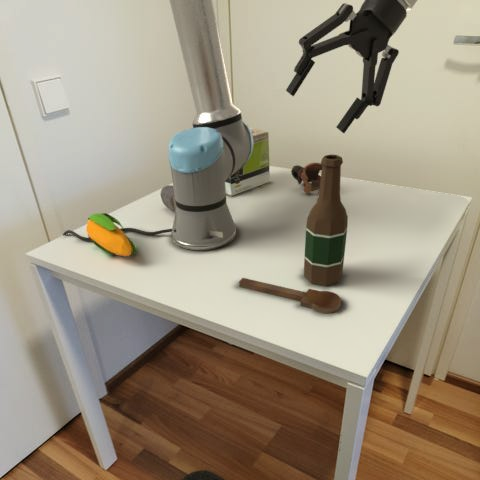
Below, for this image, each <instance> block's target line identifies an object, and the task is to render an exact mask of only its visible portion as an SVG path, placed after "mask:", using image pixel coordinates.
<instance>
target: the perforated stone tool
mask: <svg viewBox="0 0 480 480" xmlns="http://www.w3.org/2000/svg"><path fill="white" fill-rule="evenodd" d="M160 198H161V201H162V203H163V205H164V206H165V207H166V208H167V209H168V210H170V211H172V212H173V213H174V214H175V212H176V201H175V194H174V187H173V184H172V185H171V184H170V185H164V186H163V187H162V188H161V190H160Z"/></svg>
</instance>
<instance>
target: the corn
mask: <svg viewBox="0 0 480 480" xmlns="http://www.w3.org/2000/svg"><path fill="white" fill-rule="evenodd" d="M87 220H88V221H87V223H86V228H85V231H86V233H87V236H88V237H87V238H89V239H90V240H91V242H92V243H93V245H95V247H97V248H98V249H100V250H101V251H103V252H104V253H106V254H107V255H109V256H114V255H117V256H122V257H123V256H124V257H130V255H132V254H137V252H138V249H137V246H136V245H135V244H134V242H133V241H132V240H131V238H129V237H128V235H126V234H125V233H124V231H122V230H121V228H123V229H124V228H125V227H124V226H123V225H122V224H121V222H120V221H119V220H118V219H117V218H116V217H114V216H113V215H110V214H108V213H106V212H105V213H103V212H101V213H93V214H90V215H89V216H88V217H87ZM118 226H120V227H121V228H120V227H118Z"/></svg>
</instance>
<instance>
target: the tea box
mask: <svg viewBox="0 0 480 480" xmlns="http://www.w3.org/2000/svg"><path fill="white" fill-rule="evenodd" d="M249 128H250V130H251V133H252V136H253V151H252V154H251V156H250V158H249V159H248V161H247V162H246V163H245V165H244V166H243V167H242V168H241V169H240V170H238V171H236V172H235V173H234V174H233V175H231V176H230V177H229V178H228V179H226V180H225V188H226V195H227V196H231V197H232V196H235V195H237V194H238V195H239V194H240V193H241V194H242V193H243V192H246V191H249V190H251V189H252V190H253V189H254V188H257V187H260V186H262V185H265V184H268V183H270V182H271V178H270V177H271V174H270V173H271V172H270V143H269V142H270V141H269V132H268V131H265V130H262V129H261V130H260V129H257V128H256V129H255V128H252V127H249Z"/></svg>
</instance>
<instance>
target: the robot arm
mask: <svg viewBox="0 0 480 480" xmlns="http://www.w3.org/2000/svg"><path fill="white" fill-rule="evenodd" d="M417 1H418V0H364V1H363V2H362V4H361V6H360V8H359V10H358V11H357V12H355V10H354V6H353V5H352V4H348V3H342V4H341V5H340V7H338V9H337V10H336V12H335V13H334V14H333V15H331V16H330V17H329V18H327V19H326V20H324V21H323V22H322V23H320V24H319V25H317V26H316V27H314V28H313V29H312V30H310V31H308V32H307V33H305V34H304V35H303V36H301V37H300V38H299V40H298V44H299V46H300V47H301V49H302V55H301V57H300V58H299V60H298V61H297V63H296V65H295V66H294V69H293V72H295V75H294V76H293V78H292V80H291V81H290V83H289V84H288V86H287V88H286V89H285V91H286V92H287V93H288V94H289V95H290V96H292V97H295V95H296V93H297V92H298V91H299V89H300V87H301V86H302V84H303V83H304V81H305V79H306V77H307V76H308V75H309V74H310V72H311V70H312V68H313V67H314V65H315V63H316V62H315V60H314V58H316V57H318V56H321V55H323V54H326V53H328V52H331V51H334V50H336V49H339V48H341V47H344V46H348V47H349V48H350V49H351V50H353V51H355V53H356V54H357V55H358V56H359V57H361V58H362V63H363V67H362V68H363V69H362V82H361V83H362V84H361V97H356V98H355V100H354V101H353V103H352V104H351V105H350V106H349V108H348V109H347V110H346V112H345V114H344V115H343V116H342V118H341V119H340V121H339V122H338V124H337V125H336V126H335V128H336V129H338V130H339V131H340V132H341V133H342V134H345V133H346V132H347V130H348V129H349V127H350V126H351V125H352V124H353V122H354V120H358V119H360V118H361V117H362V115H363V114H364V112H365V111H366V110H367V108H368V107H371V106H375V107H379V106H380V105H381V103H382V100H383V97H384V94H385V90H386V88H387V87H386V86H387V84H388V80H389V77H390V74H391V71H392V67H393V64H394V62H395V61H396V59H397V57H398V56H399V53H400V51H399V49H397V48H395V47H393V46H391V45H390V44H389V41H390V39H391V38H392V36H394V35H395V33H396V32H397V31H398V30H399V28H400V27H401V25H402V24H403V23H404V21H405V20H406V18H407V14H408V11H411V10H412V9H413V7H414V6H415V5H416V3H417ZM169 5H170V8H171V13H172V16H173V21H174V25H175V29H176V33H177V38H178V41H179V45H180V46H179V47H180V51H181V54H182V59H183V62H184V67H185V71H186V75H187V79H188V84H189V88H190V92H191V95H192V100H193V104H194V109H195V115H194V117H193V118H192V121H191V124H192V128H188V129H184V130H182V131H179V132H178V133H176V134H175V135H173V137H172V138H171V139H170V141H169V143H168V163H169V167H170V173H171V179H172V186H173V187H174V194H175V201H176V212H175V213H174V217H173V223H172V228H167V229H161V230H160V229H159V230H156V231H144V230H141V229H138V228H134V227H123V228H124V229H123V228H122V227H121V228H120V229H121V230H122V232H133V233H138V234H141V235H146V236H155V235H156V236H157V235H160V234H166V233H171V236H172V241H173V243H174V244H175V245H176V246H178V247H180V248H182V249H185V250H190V251H209V250H214V249H219V248H222V247H225V246H226V245H228V244H230V243H231V242H233V241H234V240H235V238H236V237H237V228H236V224H235V221H234V219H233V216H232V214H231V211H230V209H229V206H228V203H227V194H226V188H225V180H226V179H228V178H229V177H230V176H231V175H233V174H234V173H235V172H236V171H238V170H240V169H241V168H242V167H243V166H244V165H245V163H246V162H247V161H248V159H249V158H250V156H251V154H252V151H253V136H252V133H251V130H250V128H251V127H249V126H248V124H246V123H245V122H244V121H243V117H242V116H243V115H242V112H241V109H239V108H238V107H237V106H236V105H234V103H233V99H232V94H231V89H230V85H229V84H230V83H229V79H228V73H227V69H226V64H225V59H224V54H223V49H222V45H221V44H222V43H221V40H220V34H219V28H218V24H217V20H216V14H215V9H214V4H213V0H169ZM344 22H345V23H347V22H349V27H348V30H346V31H343V32H340V33H339V34H338V35H336V36H335V35H334V36H333V37H330V38H327V39H326V40H323V41H320V40H321V39H323V38H324V37H325V36H327V35H328V34H330V33H331V32H332V31H334V30H336V29H337V28H338V27H339V26H341V25H342V24H343V23H344ZM319 41H320V42H319ZM317 42H318V43H317ZM381 52H382V53H381ZM379 53H381V60H380V62H379V65H378V56H379ZM377 65H378V68H377V67H376V66H377ZM376 68H377V71H376ZM68 234H71V235H73V236H74V237H76V238H77V239H79V240H82V241H86V242H90V241H91V240H90V239H89V237H86V236H82V235H80V234H79V233H76V232H75V231H74V230H71V229H67V230H65V231H64V232H63V233H62V236H67V235H68ZM91 242H92V241H91Z"/></svg>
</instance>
